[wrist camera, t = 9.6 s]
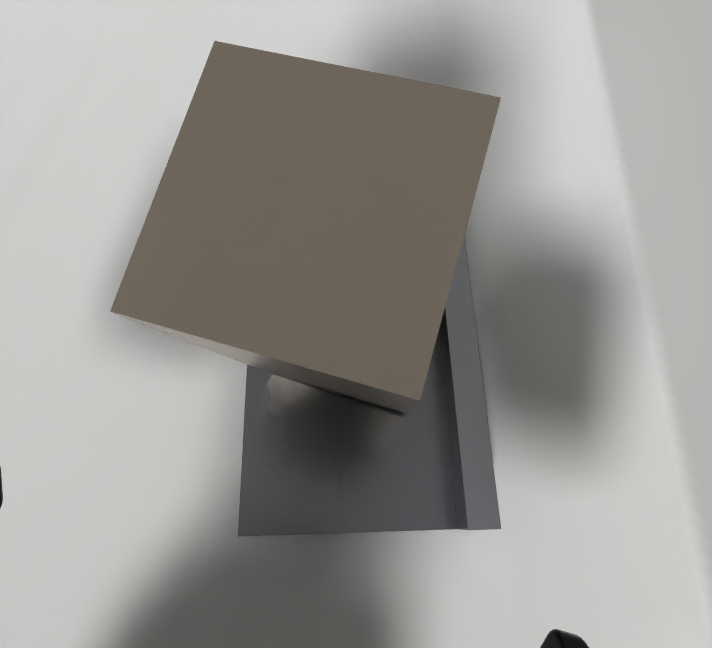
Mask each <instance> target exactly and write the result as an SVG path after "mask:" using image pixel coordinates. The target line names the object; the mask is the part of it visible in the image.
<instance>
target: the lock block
mask: <svg viewBox="0 0 712 648" xmlns="http://www.w3.org/2000/svg"><path fill="white" fill-rule="evenodd" d="M500 99H501V98H500V97H495V96H490V95H485V94H480V93H475V92H470V91H465V90H460V89H454V88H449V87H444V86H439V85H434V84H429V83H424V82H419V81H414V80H409V79H404V78H399V77H394V76H389V75H384V74H379V73H374V72H369V71H364V70H359V69H354V68H349V67H343V66H338V65H333V64H328V63H323V62H318V61H313V60H308V59H303V58H298V57H293V56H288V55H283V54H278V53H273V52H268V51H263V50H258V49H253V48H248V47H243V46H238V45H232V44H227V43H222V42H217V41H214V44H213V47H212V49H211V52H210V54H209V57H208V60H207V62H206V65H205V67H204V70H203V72H202V75H201V78H200V80H199V83H198V85H197V88H196V91H195V93H194V96H193V98H192V101H191V104H190V106H189V109H188V111H187V114H186V117H185V119H184V122H183V124H182V127H181V129H180V132H179V135H178V137H177V140H176V142H175V145H174V148H173V150H172V153H171V155H170V158H169V161H168V163H167V166H166V168H165V171H164V174H163V176H162V179H161V181H160V184H159V187H158V189H157V192H156V194H155V197H154V199H153V202H152V205H151V207H150V210H149V212H148V215H147V218H146V220H145V223H144V225H143V228H142V231H141V233H140V236H139V238H138V241H137V244H136V246H135V249H134V251H133V254H132V257H131V259H130V262H129V264H128V267H127V269H126V272H125V275H124V277H123V280H122V282H121V285H120V288H119V290H118V293H117V295H116V298H115V301H114V303H113V306H112V308H111V312H113V313H116V314H119V315H121V316H124V317H126V318H129V319H131V320H134V321H137V322H139V323H142V324H144V325H147V326H150V327H152V328H155V329H157V330H160V331H162V332H165V333H168V334H170V335H173V336H175V337H178V338H180V339H183V340H186V341H188V342H191V343H193V344H196V345H199V346H201V347H204V348H206V349H209V350H211V351H214V352H217V353H219V354H222V355H224V356H227V357H230V358H232V359H235V360H237V361H240V362H242V363H245V364H248V365H250V366H253V367H255V368H258V369H260V370H263V371H266V372H268V373H271V374H274V375H277V376H281V377H284V378H288V379H291V380H295V381H298V382H301V383H305V384H308V385H312V386H315V387H318V388H321V389H323V390H327V391H330V392H333V393H337V394H340V395H341V394H342V395H346V396H349V397H353V398H356V399H359V400H363V401H366V402H370V403H373V404H376V405H380V406H383V407H387V408H390V409H394V410H397V411H400V412H404V413H407V414H408V413H409V412H410V411H411V410H412V409H413V408H414V406H415V405H416V404H417V403H418V402H419V401H420V399H421V395H422V392H423V388H424V384H425V380H426V376H427V373H428V369H429V365H430V361H431V358H432V354H433V350H434V346H435V343H436V339H437V335H438V331H439V328H440V324H441V320H442V316H443V313H444V309H445V305H446V301H447V298H448V294H449V290H450V286H451V283H452V279H453V275H454V271H455V268H456V264H457V260H458V256H459V253H460V249H461V245H462V241H463V238H464V234H465V230H466V226H467V223H468V219H469V215H470V211H471V207H472V204H473V200H474V196H475V192H476V189H477V185H478V181H479V177H480V174H481V170H482V166H483V162H484V159H485V155H486V151H487V147H488V144H489V140H490V136H491V132H492V129H493V125H494V121H495V117H496V114H497V110H498V106H499V102H500Z"/></svg>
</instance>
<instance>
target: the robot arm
mask: <svg viewBox="0 0 712 648" xmlns="http://www.w3.org/2000/svg"><path fill="white" fill-rule="evenodd" d="M2 501H3V492H2V478H1V467H0V508H1V505H2ZM540 648H589V647H588V645H587V644H586V643H585V641H584V640H583V639H582V638H581V637H579V636H577V635H575V634H571V633H568V632H565V631H561V630H558V629H554V630H552V631H550V632H549V634H548V635H547V637H546V639H545V640H544V642H543V644H542V645H541V647H540Z"/></svg>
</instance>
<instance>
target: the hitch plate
mask: <svg viewBox="0 0 712 648" xmlns="http://www.w3.org/2000/svg"><path fill="white" fill-rule="evenodd" d="M443 529H462V530H485V529H501V524H500V516H499V508H498V500H497V492H496V484H495V476H494V468H493V460H492V452H491V444H490V436H489V428H488V420H487V412H486V404H485V397H484V389H483V381H482V373H481V365H480V357H479V349H478V341H477V333H476V325H475V317H474V309H473V301H472V293H471V285H470V277H469V270H468V262H467V254H466V246H465V238H463V241H462V245H461V249H460V253H459V256H458V260H457V264H456V268H455V271H454V275H453V279H452V283H451V286H450V290H449V294H448V298H447V301H446V305H445V309H444V313H443V316H442V320H441V324H440V328H439V331H438V335H437V339H436V343H435V346H434V350H433V354H432V358H431V361H430V365H429V369H428V373H427V376H426V380H425V384H424V388H423V392H422V395H421V399H420V401H419V402H418V403H417V404H416V405H415V406H414V408H413V409H412V410H411V411H410V412H409V413H408V414H407V413H404V412H400V411H397V410H394V409H390V408H387V407H383V406H380V405H376V404H373V403H370V402H366V401H363V400H359V399H356V398H353V397H349V396H346V395H342V394H341V395H340V394H337V393H333V392H330V391H327V390H323V389H321V388H318V387H315V386H312V385H308V384H305V383H301V382H298V381H295V380H291V379H288V378H284V377H281V376H277V375H274V374H271V373H268V372H266V371H263V370H260V369H258V368H255V367H253V366H250V365H248V364H247V379H246V398H245V416H244V435H243V454H242V472H241V491H240V510H239V528H238V536H261V535H292V534H322V533H352V532H382V531H412V530H443Z"/></svg>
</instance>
